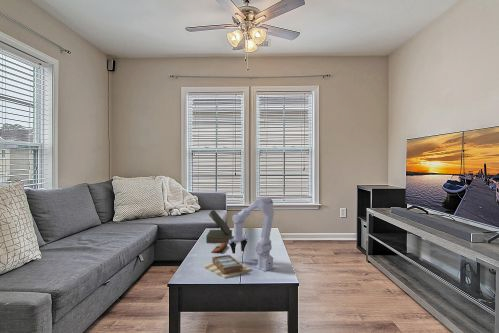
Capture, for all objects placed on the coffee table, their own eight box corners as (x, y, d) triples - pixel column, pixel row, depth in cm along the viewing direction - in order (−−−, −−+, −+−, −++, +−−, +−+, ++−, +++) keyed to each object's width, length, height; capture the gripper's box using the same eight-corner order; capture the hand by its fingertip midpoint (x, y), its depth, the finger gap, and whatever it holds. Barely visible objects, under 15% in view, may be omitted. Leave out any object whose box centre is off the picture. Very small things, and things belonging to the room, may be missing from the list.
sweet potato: (216, 246, 231) (221, 239, 231) (224, 250, 231) (228, 243, 230) (210, 253, 214) (214, 245, 213) (218, 258, 213) (223, 250, 212)
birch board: (251, 270, 180) (251, 268, 180) (224, 278, 167) (224, 276, 167) (228, 260, 198) (228, 258, 198) (202, 266, 185) (202, 265, 185)
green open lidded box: (229, 243, 239) (230, 213, 239) (206, 243, 240) (206, 213, 239) (232, 236, 262) (232, 208, 262) (210, 236, 263) (210, 208, 262)
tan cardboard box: (242, 271, 175) (242, 265, 175) (223, 274, 170) (223, 268, 170) (229, 259, 195) (229, 254, 195) (212, 262, 190) (212, 257, 190)
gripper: (243, 229, 206) (242, 248, 206) (226, 232, 196) (225, 252, 197) (249, 231, 200) (249, 251, 200) (232, 234, 191) (232, 255, 191)
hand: (238, 252), depth 198 cm, fingers open, 7 cm apart
